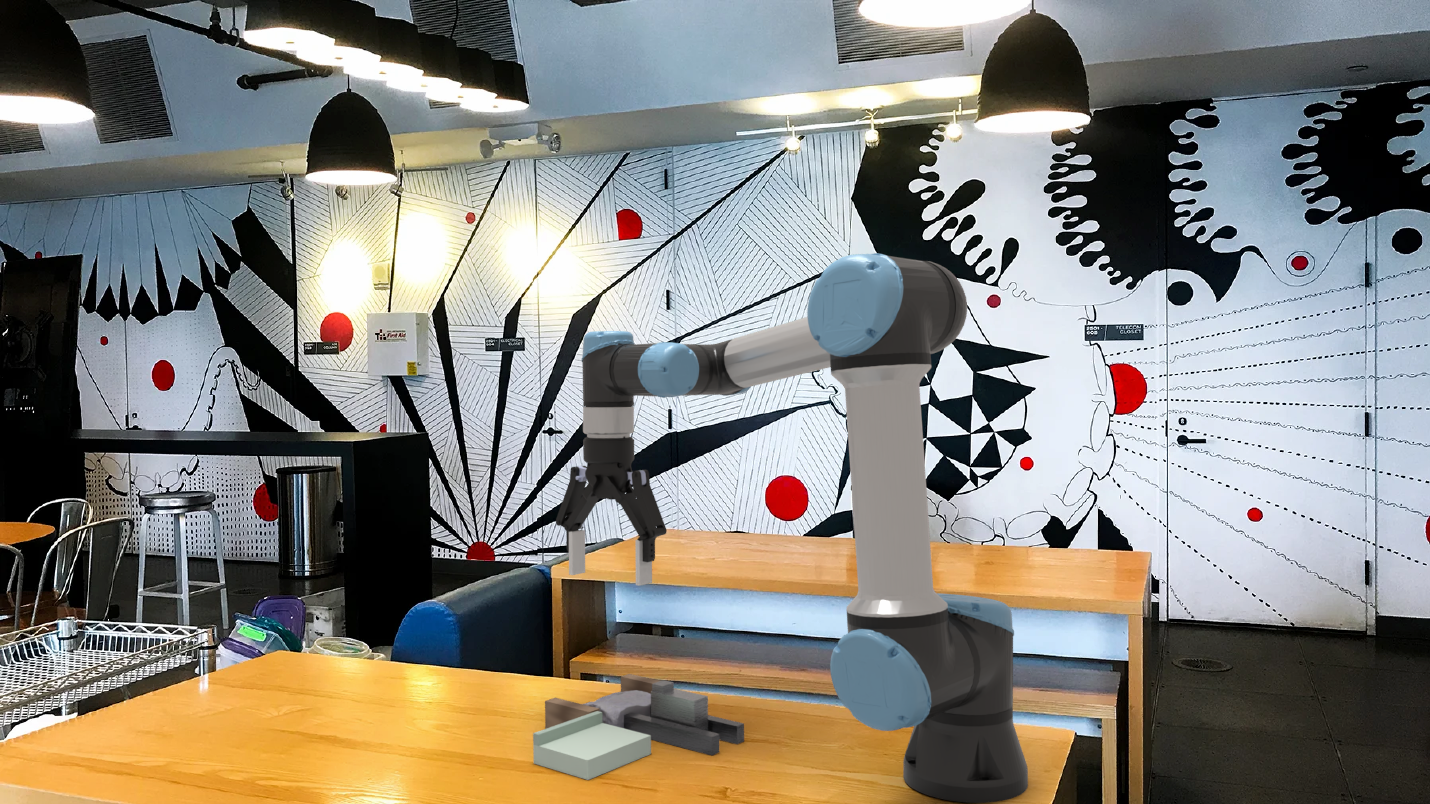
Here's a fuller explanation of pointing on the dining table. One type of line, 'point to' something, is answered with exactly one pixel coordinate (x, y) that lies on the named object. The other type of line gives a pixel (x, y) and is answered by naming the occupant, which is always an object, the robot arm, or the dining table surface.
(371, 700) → the dining table surface
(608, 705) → the stone block
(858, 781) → the dining table surface
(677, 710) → the grey metal block
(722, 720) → the guide
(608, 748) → the pale green ledge block
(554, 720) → the brown piece
